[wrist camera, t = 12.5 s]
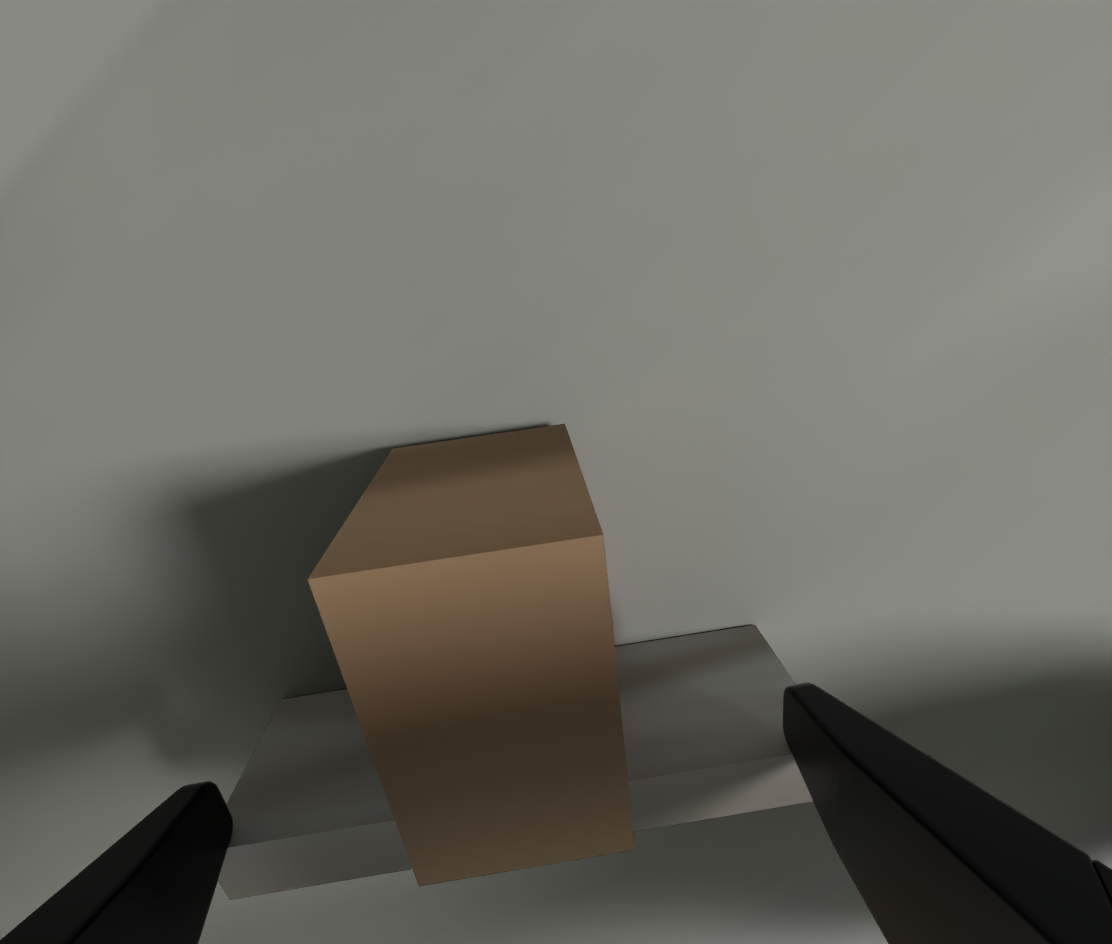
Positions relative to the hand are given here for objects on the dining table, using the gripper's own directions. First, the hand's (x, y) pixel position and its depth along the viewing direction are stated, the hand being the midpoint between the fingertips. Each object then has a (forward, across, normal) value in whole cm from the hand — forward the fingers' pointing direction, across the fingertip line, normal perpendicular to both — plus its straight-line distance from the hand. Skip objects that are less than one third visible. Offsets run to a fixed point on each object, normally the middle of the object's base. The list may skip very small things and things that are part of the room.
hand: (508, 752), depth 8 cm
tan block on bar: (+3, 0, -1) cm, 3 cm away
